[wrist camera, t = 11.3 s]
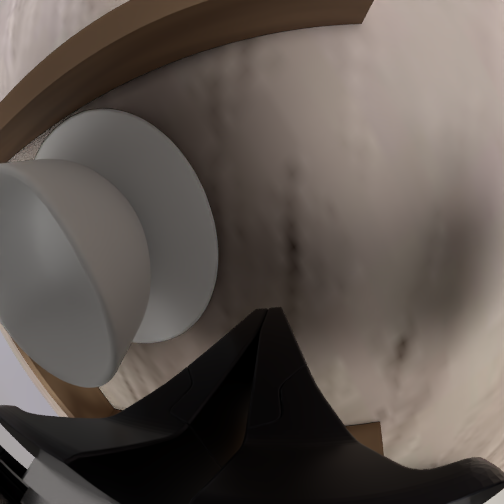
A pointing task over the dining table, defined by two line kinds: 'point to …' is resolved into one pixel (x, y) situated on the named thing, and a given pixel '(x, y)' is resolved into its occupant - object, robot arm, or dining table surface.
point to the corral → (136, 64)
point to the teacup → (102, 245)
